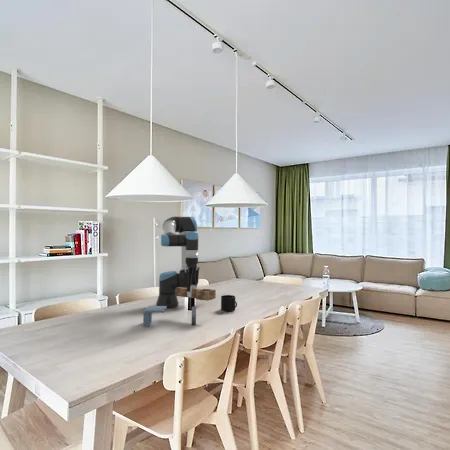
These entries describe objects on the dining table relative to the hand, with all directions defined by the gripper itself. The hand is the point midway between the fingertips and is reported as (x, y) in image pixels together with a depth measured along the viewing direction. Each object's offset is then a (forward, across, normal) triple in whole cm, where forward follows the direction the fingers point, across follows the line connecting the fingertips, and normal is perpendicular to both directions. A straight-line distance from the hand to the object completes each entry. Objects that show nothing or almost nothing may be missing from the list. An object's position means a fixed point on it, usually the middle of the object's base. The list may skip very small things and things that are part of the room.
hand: (191, 296), depth 198 cm
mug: (+13, +28, -10) cm, 33 cm away
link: (0, 0, -2) cm, 2 cm away
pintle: (+13, -10, -9) cm, 19 cm away
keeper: (+13, -21, +9) cm, 26 cm away
